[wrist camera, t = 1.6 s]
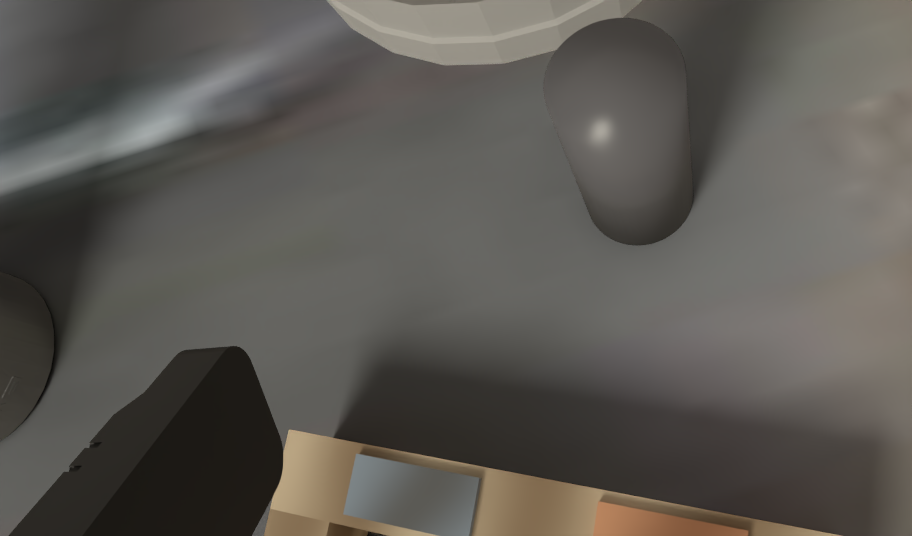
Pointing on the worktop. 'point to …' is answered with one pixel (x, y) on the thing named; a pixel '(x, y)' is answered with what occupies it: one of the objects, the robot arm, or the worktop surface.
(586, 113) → the plug
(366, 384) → the worktop surface
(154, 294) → the worktop surface
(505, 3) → the dish
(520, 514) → the socket board
